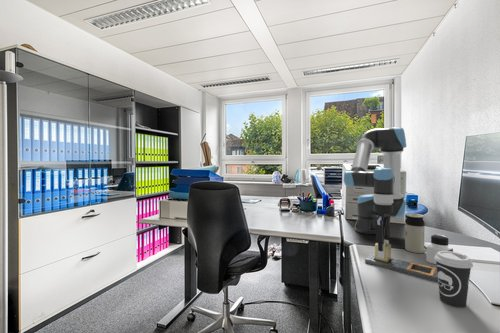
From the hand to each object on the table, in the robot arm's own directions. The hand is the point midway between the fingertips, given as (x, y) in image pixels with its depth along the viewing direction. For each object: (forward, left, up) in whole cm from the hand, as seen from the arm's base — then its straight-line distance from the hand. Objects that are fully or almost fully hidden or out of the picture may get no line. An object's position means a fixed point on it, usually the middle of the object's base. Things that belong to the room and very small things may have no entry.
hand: (383, 255), depth 108 cm
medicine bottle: (-17, +18, -4) cm, 25 cm away
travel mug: (-27, +7, -4) cm, 28 cm away
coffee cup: (+17, +25, -3) cm, 30 cm away
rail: (0, +7, -3) cm, 8 cm away
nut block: (0, 0, -3) cm, 3 cm away
